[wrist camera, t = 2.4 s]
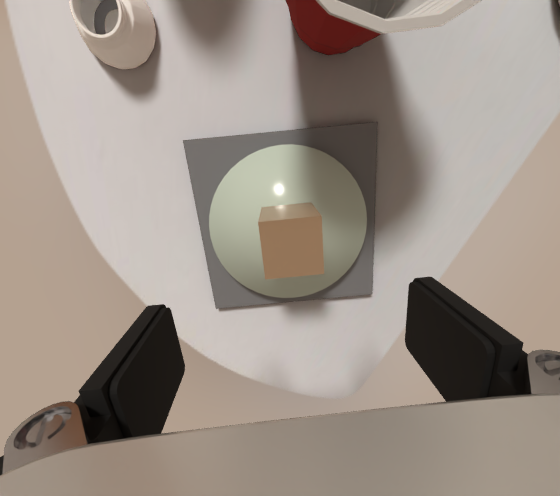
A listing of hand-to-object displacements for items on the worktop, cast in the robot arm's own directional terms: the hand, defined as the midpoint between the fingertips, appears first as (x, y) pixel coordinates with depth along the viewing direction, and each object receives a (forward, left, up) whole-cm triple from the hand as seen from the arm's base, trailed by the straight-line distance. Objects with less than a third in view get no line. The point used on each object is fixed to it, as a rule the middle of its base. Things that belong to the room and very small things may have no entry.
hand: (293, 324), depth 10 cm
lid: (-1, 0, -14) cm, 14 cm away
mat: (-1, 0, -14) cm, 14 cm away
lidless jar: (+10, -15, -15) cm, 23 cm away
